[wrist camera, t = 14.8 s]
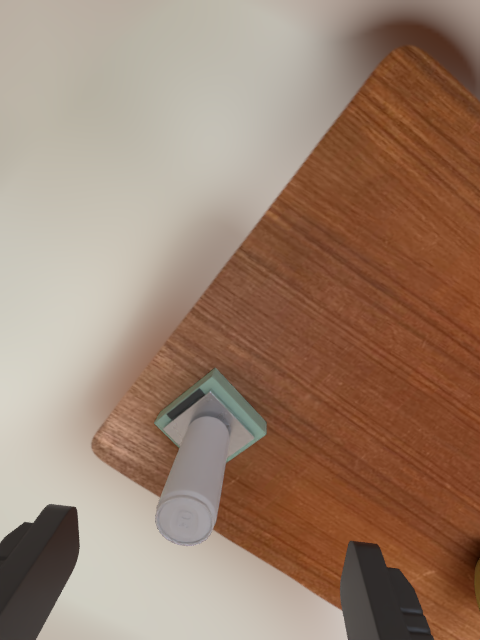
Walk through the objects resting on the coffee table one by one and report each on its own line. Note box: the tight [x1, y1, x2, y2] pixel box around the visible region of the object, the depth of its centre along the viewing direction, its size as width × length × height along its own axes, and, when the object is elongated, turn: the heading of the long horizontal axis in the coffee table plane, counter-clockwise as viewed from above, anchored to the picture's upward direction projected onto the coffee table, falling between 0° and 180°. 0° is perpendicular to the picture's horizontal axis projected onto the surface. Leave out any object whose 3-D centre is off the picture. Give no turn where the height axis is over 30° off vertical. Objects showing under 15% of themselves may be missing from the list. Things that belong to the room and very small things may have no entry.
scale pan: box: [163, 389, 255, 458], centre depth 39 cm, size 7×7×1 cm
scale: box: [154, 368, 266, 463], centre depth 41 cm, size 9×9×3 cm
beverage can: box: [155, 416, 230, 546], centre depth 33 cm, size 5×5×12 cm
